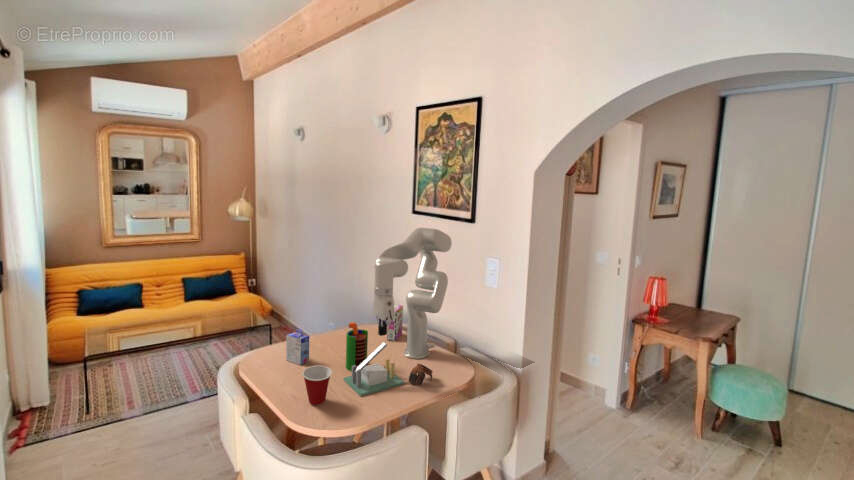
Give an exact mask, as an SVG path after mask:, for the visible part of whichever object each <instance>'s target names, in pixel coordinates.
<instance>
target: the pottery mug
mask: <svg viewBox="0 0 854 480" xmlns="http://www.w3.org/2000/svg"><path fill="white" fill-rule="evenodd" d="M426 375H427V376H429V377H430V380H429V381H430V382H432V380H433V370H432V369H430V368H429V367H427V366H425V365H423V364H422V363H417V364H416V366H414V367H412V369H411V371H410V373H409V376H408V380H407V381H408V383H409V384H411V385H413V386H416V384H417V385H418V386H419V385H423V383H424V380H425V378H426Z"/></svg>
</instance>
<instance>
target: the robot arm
mask: <svg viewBox="0 0 854 480" xmlns="http://www.w3.org/2000/svg"><path fill="white" fill-rule="evenodd" d="M451 248H452V238H451V236H450V235H448V234H447V233H445V232H444V231H441V230H440V229H437V228H428V227H427V228H426V227H417V228H415V229H414V230H413V231H412V232H411V233H410V234H409V236H408V237H407V238H406V239H404V241H403V242H401V243H398V244H396V245H393V246H390V247H388V248H387V249H385V250H384V251H383V252H381V254H380V255H379V256H378V257H377V258H376V261H374V293H373V294H374V297H373V298H374V299H373V315H374V317H375V318H376V320H377V325H378V327H377V328H378V329H377V330H378V332H377V335H379V336H381V337H382V336H387V329H388V324H391V321H390V319H392V320H393V319H394V305H395V301H394V296H393V295H394V278H402V277H404V276H406V275H407V273H408V271H409V265H408V262H407V261H405V260H409V259H413V258H415V257H416V256H418V255H419V254H420V262H419V266H418V268H417V271H416V275H415V279H414V284H415V286H416V287H417V288H419V289H412V290H410V291H408V292H407V294H406V296H405V303H406V310H407V311H406V312H407V325H406V327H407V328H406V330H407V332H406V333H407V334H406V348H404V350H403V355H404V356H405V357H407V358H409V359H413V360H415V359H416V360H419V359H420V360H421V359H422V360H423V359H425V358H428V357H429V356H430V349H432V348H435V346H436V345H435V343H434V342H433V343H429V342H428V341H427V340H428V317H427V314H426V313H431V314H438V313H439V312H440V311H441V309H442V306H443V303H444V299H445V296H446V292H447V289H448V284H449V283H448V282H449V278H448V275H447V273H445V272H444V271H440V270H437V268H438V263H439V261H438V258H437V256H436V254H435V253H434V252H438V253H447V252H449V251H450V249H451ZM420 289H421V290H420ZM427 290H428V291H427ZM427 356H428V357H427Z"/></svg>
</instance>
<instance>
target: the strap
mask: <svg viewBox="0 0 854 480" xmlns="http://www.w3.org/2000/svg"><path fill="white" fill-rule="evenodd" d="M387 346H388V344H387V343H386V342H382V343H381V344H380V345H379V346H377V348H375V349H374V351H372V353H370V354H369V355H367V358H366V359H365V360H364V361H363V362H362V363H361V364H360V365H359V366H358V367H357V368H356V369H354V372H355V373H356V370H358V369H360V370H362V369H363V368H364V367H365V366H368V365H369V364H370V362H371V361H373V360H374V358H376V357H377V356H378V355H379V354H380V353H381V352H382V351H383V350H384V349H385V348H386V347H387Z"/></svg>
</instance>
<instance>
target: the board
mask: <svg viewBox="0 0 854 480" xmlns="http://www.w3.org/2000/svg"><path fill="white" fill-rule="evenodd" d="M384 365H385V367H384V366H383V365H381V364H380V363H373V364H370V365H369V364H367V365H366V366H365V367H364V368H363V369H362V370H360V369H358V370H356V373H355V372H354V369H356V367H357V366H356V365H353V366H352V371H351V375H348V376H345V377H343V381H344V382H345V383H346V384H347V385H348V386H349V387H350V389H352V390H353V391H354V392H355V393H356V394H357V395H358V396H359V397H364V396H368V395H370V394H374V393H377V392H382V391H384V390H388V389H392V388H395V387H398V386H401V385H405V381H404V379H402V378H400V377H399V376H398V375H396V374H395V362H394V361H391V362H390V358H389V357H388V358H385V364H384Z"/></svg>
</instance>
